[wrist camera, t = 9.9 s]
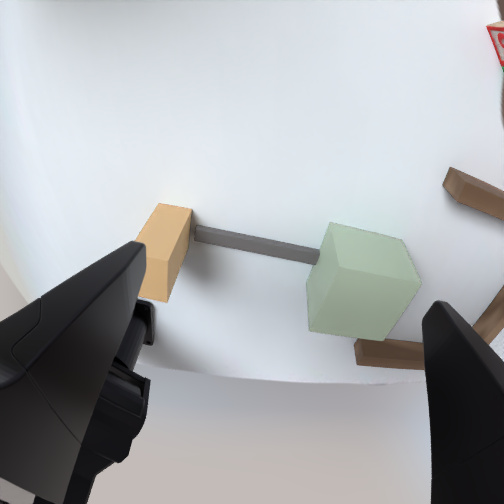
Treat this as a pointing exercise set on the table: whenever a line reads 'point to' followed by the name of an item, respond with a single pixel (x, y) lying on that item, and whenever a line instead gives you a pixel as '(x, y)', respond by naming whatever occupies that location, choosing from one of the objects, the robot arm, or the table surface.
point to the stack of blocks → (498, 39)
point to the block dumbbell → (324, 262)
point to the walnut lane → (492, 320)
